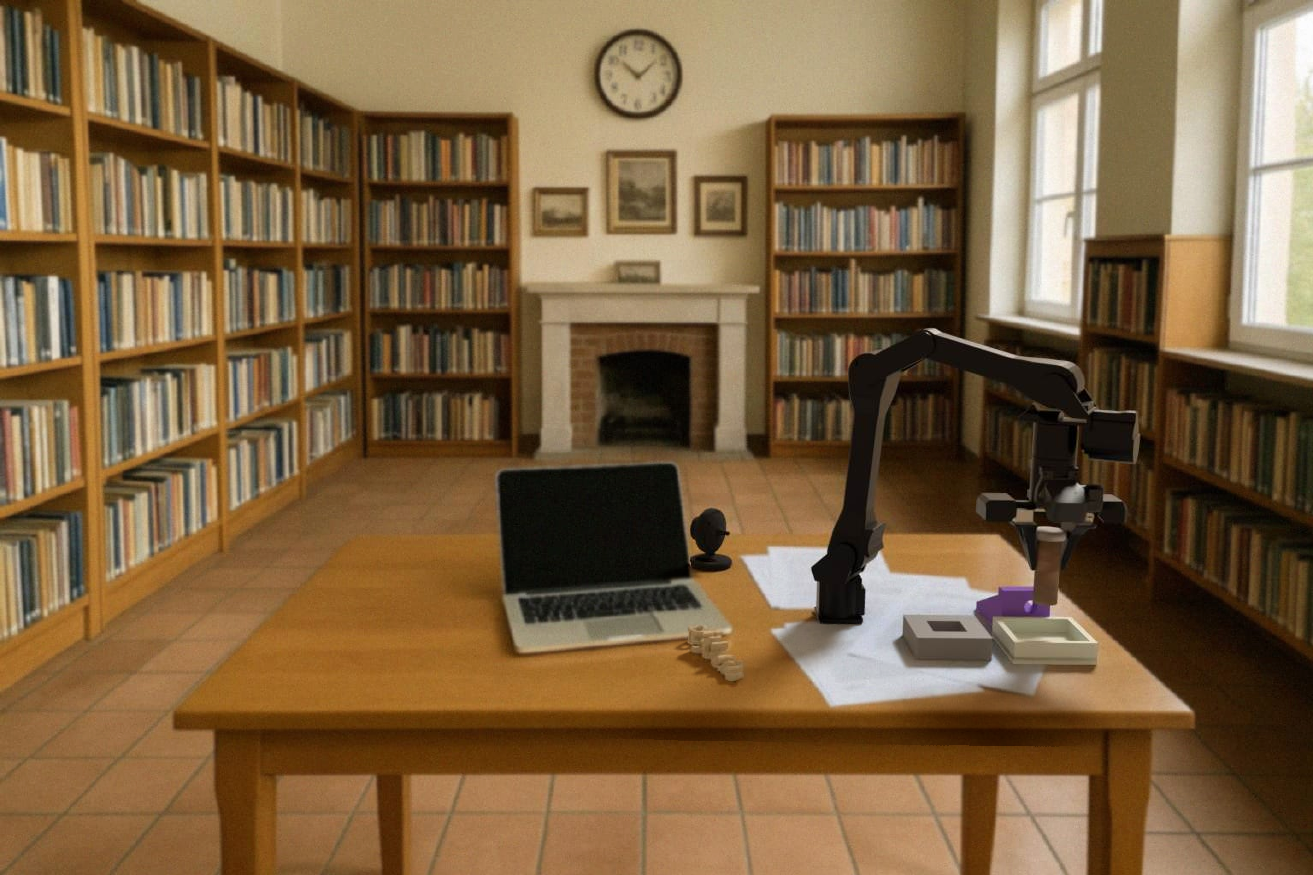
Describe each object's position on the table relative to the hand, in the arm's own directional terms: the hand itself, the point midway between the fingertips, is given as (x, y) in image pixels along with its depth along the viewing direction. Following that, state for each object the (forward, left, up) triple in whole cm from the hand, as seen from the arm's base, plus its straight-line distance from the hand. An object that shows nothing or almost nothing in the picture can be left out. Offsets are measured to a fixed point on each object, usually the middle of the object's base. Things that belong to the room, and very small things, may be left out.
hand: (1046, 570), depth 166 cm
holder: (-13, +1, -11) cm, 17 cm away
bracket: (-1, +13, -12) cm, 17 cm away
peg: (0, 0, -5) cm, 5 cm away
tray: (0, 0, -11) cm, 11 cm away
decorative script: (-45, -5, -12) cm, 47 cm away
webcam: (-44, +42, -12) cm, 62 cm away
